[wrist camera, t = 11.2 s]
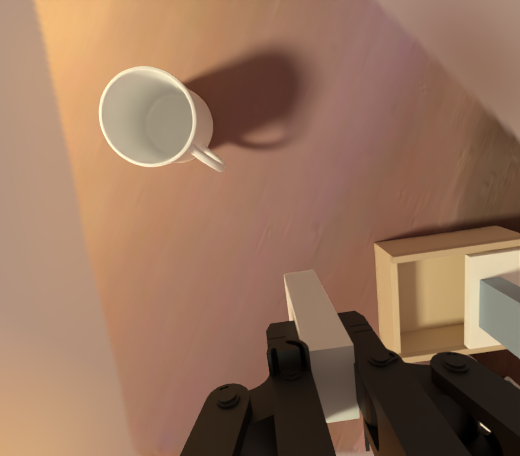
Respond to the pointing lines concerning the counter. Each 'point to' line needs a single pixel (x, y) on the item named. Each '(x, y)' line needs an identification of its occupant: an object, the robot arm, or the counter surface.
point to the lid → (492, 299)
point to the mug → (156, 119)
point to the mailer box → (430, 290)
